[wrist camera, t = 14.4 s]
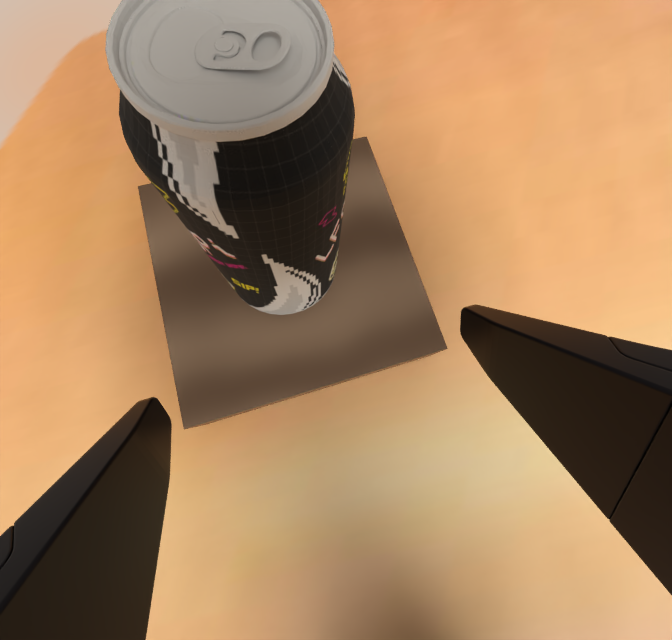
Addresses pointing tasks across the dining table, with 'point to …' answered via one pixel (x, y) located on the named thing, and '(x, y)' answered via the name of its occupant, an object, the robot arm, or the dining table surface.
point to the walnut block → (290, 329)
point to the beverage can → (241, 134)
